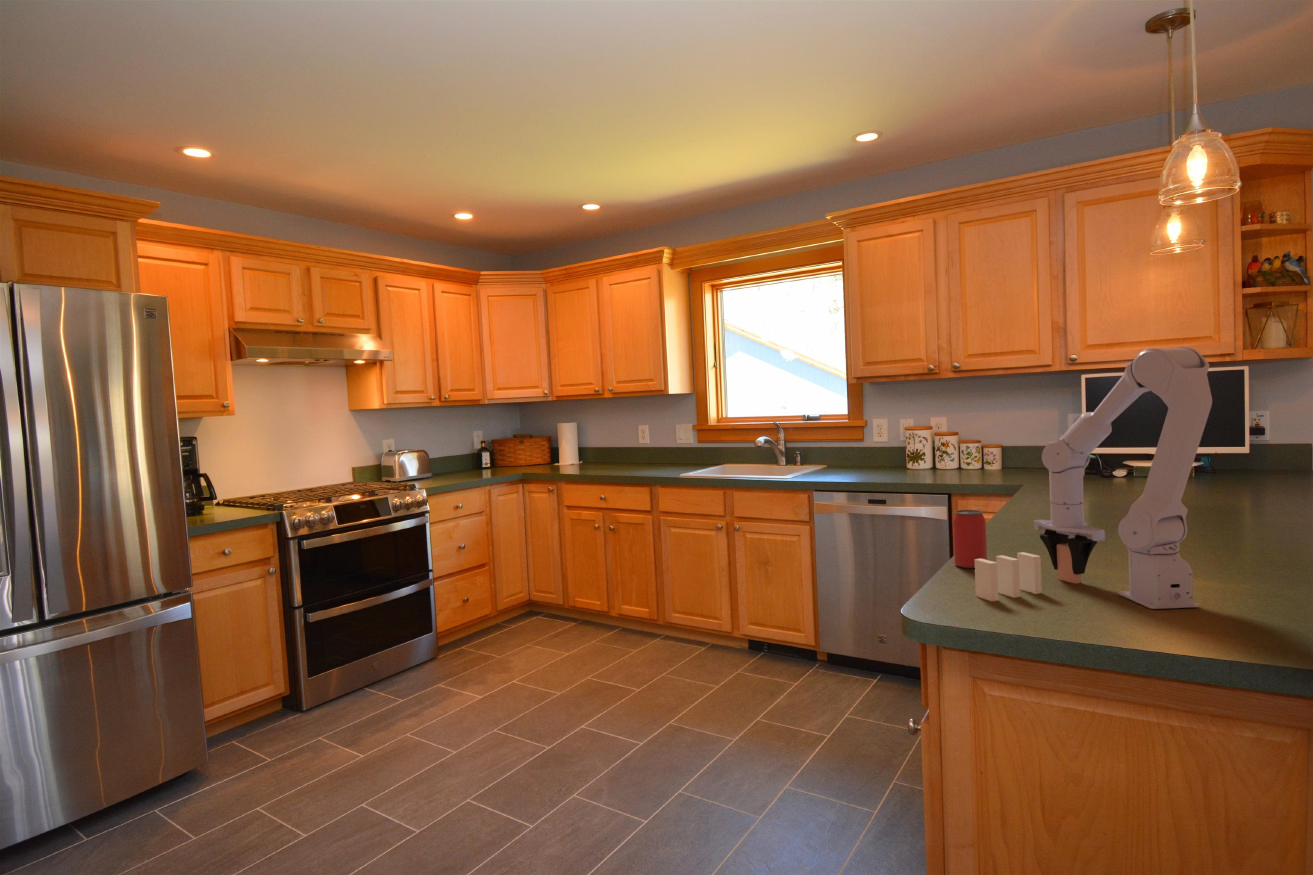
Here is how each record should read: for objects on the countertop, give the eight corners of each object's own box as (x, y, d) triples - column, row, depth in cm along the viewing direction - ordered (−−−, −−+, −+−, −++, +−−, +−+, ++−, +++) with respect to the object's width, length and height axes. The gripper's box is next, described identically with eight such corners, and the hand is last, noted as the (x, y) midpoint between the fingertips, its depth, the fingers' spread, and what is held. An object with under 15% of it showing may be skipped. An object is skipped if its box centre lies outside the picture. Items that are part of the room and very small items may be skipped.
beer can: (989, 569, 150) (987, 514, 150) (955, 569, 152) (953, 514, 152) (985, 562, 156) (983, 509, 156) (953, 561, 159) (951, 509, 158)
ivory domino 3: (1024, 587, 135) (1023, 552, 135) (1041, 592, 132) (1040, 556, 131) (1018, 588, 135) (1017, 553, 135) (1035, 593, 131) (1034, 556, 131)
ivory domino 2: (1003, 591, 134) (1002, 555, 134) (1020, 596, 130) (1019, 559, 130) (997, 592, 133) (996, 556, 133) (1013, 597, 130) (1012, 560, 129)
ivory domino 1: (982, 594, 132) (981, 558, 132) (998, 600, 129) (997, 562, 128) (975, 596, 132) (974, 559, 132) (991, 601, 128) (990, 563, 128)
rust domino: (1063, 578, 140) (1062, 543, 140) (1081, 582, 137) (1079, 547, 136) (1057, 579, 140) (1056, 544, 140) (1075, 583, 136) (1073, 547, 136)
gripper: (1116, 505, 132) (1118, 576, 132) (1052, 496, 146) (1054, 561, 146) (1087, 508, 130) (1089, 581, 130) (1024, 499, 144) (1027, 565, 144)
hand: (1069, 571), depth 138 cm, fingers closed on rust domino, 4 cm apart
